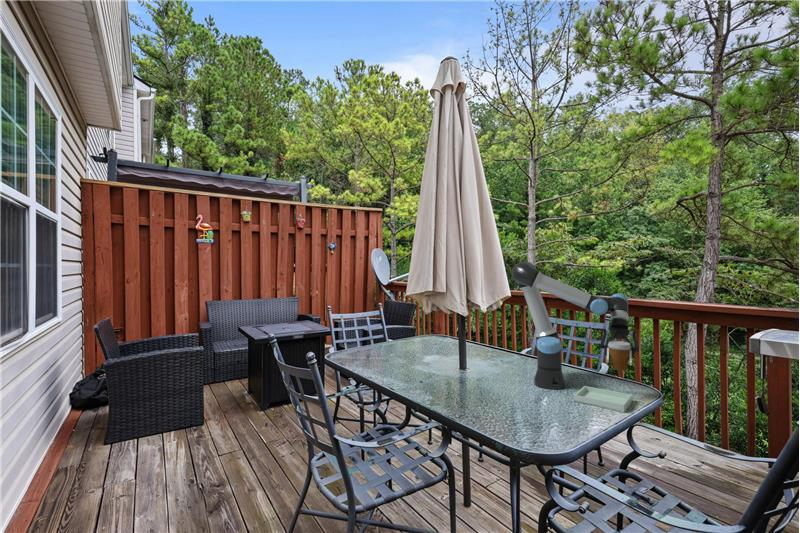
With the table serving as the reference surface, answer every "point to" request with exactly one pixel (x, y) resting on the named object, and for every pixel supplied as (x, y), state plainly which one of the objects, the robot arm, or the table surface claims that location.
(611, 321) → the robot arm
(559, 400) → the table surface
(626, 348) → the disposable coffee cup
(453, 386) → the table surface
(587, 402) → the sage tray
